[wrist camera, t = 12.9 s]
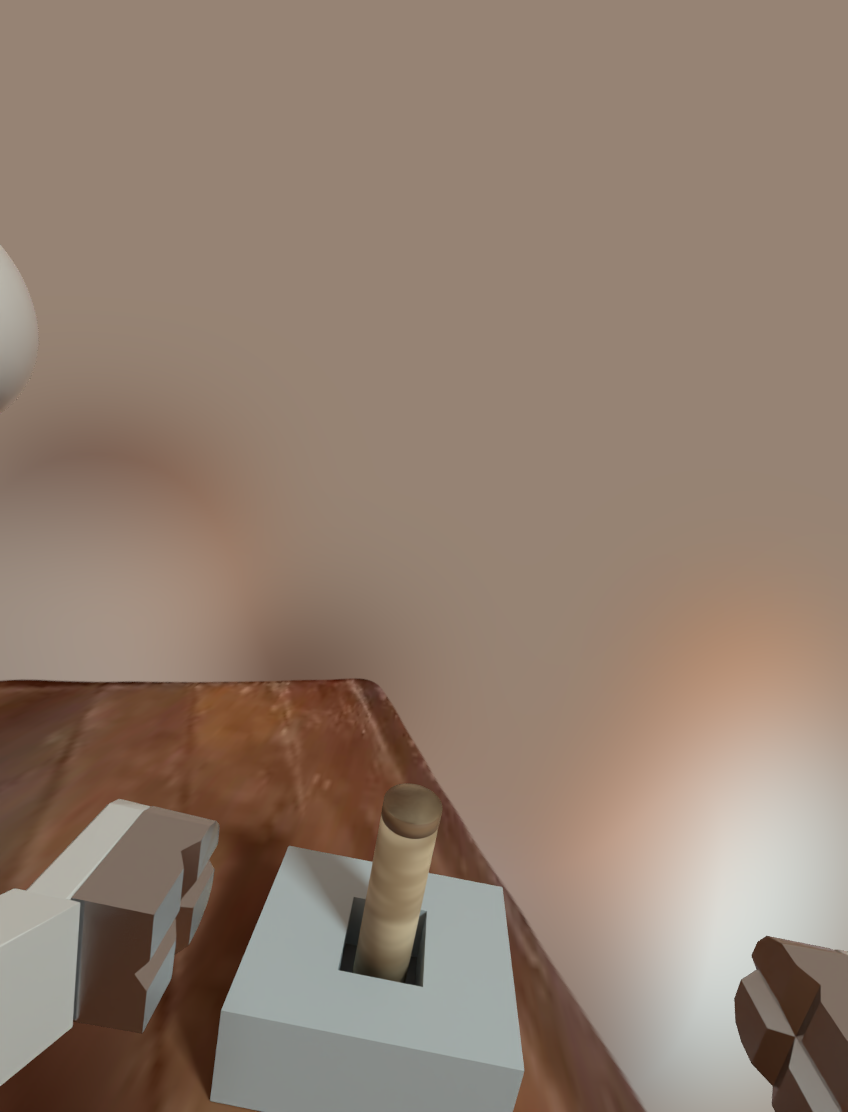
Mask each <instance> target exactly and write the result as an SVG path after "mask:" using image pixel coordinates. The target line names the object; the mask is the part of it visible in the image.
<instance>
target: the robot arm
mask: <svg viewBox="0 0 848 1112" xmlns="http://www.w3.org/2000/svg"><path fill="white" fill-rule="evenodd" d="M38 344H39V334H38V323H37V317H36V313H35V309H34V305H33V302H32V299H31V296H30V294H29V291H28V289H27V286H26V284H25V282H24V280H23V278H22V276H21V274H20V272H19V271H18V269H17V267H16V266H15V264H14V263H13V261H12V259H11V258H10V256H9V255H8V254H7V253H6V251H5V250H4V249H3V247H2V246H1V245H0V414H1V413H2V412H3V411H5V410H6V409H7V408H8V407H9V406H10V405H11V404H12V403H13V402H14V401H15V400H16V399H17V398H18V397H19V395H20V394H21V393H22V391H23V390H24V389H25V387H26V385H27V383H28V381H29V379H30V378H31V375H32V372H33V370H34V367H35V364H36V359H37V353H38ZM218 836H219V824H218V823H217V821H214V820H209V819H205V818H201V817H197V816H193V815H188V814H184V813H180V812H176V811H171V810H167V809H163V808H159V807H155V806H152V807H150V806H146V805H142V804H138V803H134V802H130V801H126V800H122V799H118V800H116V801H114V802H112V803H110V804H108V805H107V806H106V807H105V808H104V809H103V810H102V811H101V812H100V813H99V814H98V815H97V817H96V818H95V819H94V820H93V821H92V822H91V823H90V824H89V825H88V826H87V827H86V828H85V829H84V830H83V831H82V832H81V833H80V834H79V835H78V836H77V837H76V839H75V840H74V841H73V842H72V843H71V844H70V845H69V846H68V847H67V848H66V849H65V850H64V851H63V852H62V853H61V854H60V855H59V856H58V857H57V858H56V859H55V860H54V862H53V863H52V864H51V865H50V866H49V867H48V868H47V869H46V870H45V871H44V872H43V873H42V874H41V875H40V876H39V877H38V878H37V879H36V880H35V881H34V882H33V884H32V885H31V886H30V887H29V888H28V889H27V890H21V889H15V888H14V889H12V890H10V891H8V892H6V893H3V894H1V895H0V1086H1V1085H2V1084H3V1083H5V1082H6V1081H7V1080H8V1079H10V1078H11V1077H12V1076H13V1075H14V1074H16V1073H17V1072H18V1071H19V1070H21V1069H22V1068H23V1067H24V1066H25V1065H27V1064H28V1063H29V1062H30V1061H32V1060H33V1059H34V1058H35V1057H36V1056H38V1055H39V1054H40V1053H41V1052H43V1051H44V1050H45V1049H46V1048H47V1047H49V1046H50V1045H51V1044H52V1043H54V1042H55V1041H56V1040H57V1039H58V1038H60V1037H61V1036H62V1035H63V1034H65V1033H66V1032H67V1031H68V1030H69V1029H71V1028H72V1026H73V1022H78V1023H84V1024H90V1025H95V1026H101V1027H107V1028H113V1029H118V1030H124V1031H130V1032H136V1033H141V1034H142V1033H143V1031H144V1029H145V1027H146V1026H147V1024H148V1022H149V1020H150V1018H151V1016H152V1014H153V1012H154V1010H155V1008H156V1007H157V1005H158V1003H159V1001H160V999H161V997H162V995H163V993H164V991H165V989H166V988H167V986H168V984H169V982H170V980H171V978H172V970H173V962H174V955H175V954H177V953H178V952H180V951H181V950H182V949H184V948H185V947H187V946H188V945H189V944H190V942H191V940H192V938H193V936H194V934H195V932H196V930H197V928H198V926H199V923H200V921H201V918H202V915H203V913H204V910H205V908H206V905H207V902H208V899H209V895H210V891H211V887H212V883H213V876H214V868H213V866H212V864H211V863H210V861H209V858H210V857H211V855H212V853H213V851H214V850H215V848H216V846H217V844H218ZM752 958H753V961H754V963H755V966H756V969H757V970H755V971H754V972H752V973H751V974H749V975H748V976H746V977H745V978H743V979H742V980H741V982H740V985H739V987H738V990H737V993H736V996H735V998H734V999H735V1019H736V1025H737V1028H738V1032H739V1035H740V1039H741V1042H742V1044H743V1046H744V1048H745V1050H746V1053H747V1055H748V1057H749V1059H750V1061H751V1063H752V1064H753V1066H754V1067H755V1068H757V1070H758V1071H759V1072H760V1073H761V1074H762V1075H763V1076H764V1077H765V1078H766V1079H767V1080H768V1081H769V1083H770V1084H771V1085H772V1086H773V1093H772V1106H773V1108H774V1110H775V1112H848V951H842V950H833V949H830V948H825V947H820V946H815V945H810V944H805V943H800V942H795V941H790V940H785V939H780V938H775V937H770V936H766V937H764V938H763V939H761V940H760V941H758V942H757V944H756V947H755V949H754V951H753V953H752Z"/></svg>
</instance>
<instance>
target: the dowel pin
mask: <svg viewBox="0 0 848 1112" xmlns="http://www.w3.org/2000/svg"><path fill="white" fill-rule="evenodd" d="M441 814H442V804H441V801H440V799H439V798H438V797H437V796H436V795H435V794H434V793H433V792H432V791H430V790H429V789H427V788H425V787H422V786H420V785H415V784H399V785H396V786H394V787H392V788H390V789H389V790H388V791H387V792H386V794H385V797H384V802H383V807H382V814H381V820H380V825H379V831H378V836H377V842H376V847H375V852H374V858H373V863H372V869H371V874H370V879H369V885H368V890H367V896H366V901H365V907H364V912H363V917H362V923H361V928H360V934H359V939H358V944H357V950H356V955H355V961H354V966H353V971H352V973H355V974H360V975H365V976H370V977H375V978H380V979H385V980H390V981H395V982H400V983H405V981H406V977H407V972H408V967H409V962H410V958H411V953H412V948H413V944H414V939H415V934H416V929H417V925H418V920H419V915H420V911H421V906H422V901H423V896H424V892H425V887H426V882H427V878H428V873H429V868H430V863H431V859H432V854H433V849H434V845H435V840H436V835H437V831H438V827H439V823H440V818H441Z"/></svg>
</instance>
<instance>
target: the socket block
mask: <svg viewBox="0 0 848 1112" xmlns="http://www.w3.org/2000/svg"><path fill="white" fill-rule="evenodd" d="M372 863H373V862H370V861H365V860H359V859H354V858H349V857H344V856H339V855H334V854H329V853H323V852H318V851H313V850H308V849H303V848H298V847H293V846H289V847H288V849H287V852H286V854H285V856H284V859H283V861H282V864H281V866H280V869H279V871H278V873H277V876H276V878H275V881H274V883H273V886H272V888H271V890H270V893H269V895H268V898H267V900H266V903H265V905H264V907H263V910H262V912H261V915H260V917H259V920H258V922H257V924H256V927H255V929H254V932H253V934H252V937H251V939H250V941H249V944H248V946H247V949H246V951H245V954H244V956H243V958H242V961H241V963H240V966H239V968H238V971H237V973H236V975H235V978H234V980H233V983H232V985H231V988H230V990H229V992H228V995H227V997H226V1000H225V1002H224V1005H223V1007H222V1009H221V1016H220V1024H219V1032H218V1040H217V1048H216V1056H215V1064H214V1073H213V1081H212V1089H211V1097H210V1101H213V1102H218V1103H223V1104H228V1105H233V1106H238V1107H243V1108H248V1109H253V1110H258V1111H263V1112H513V1109H514V1105H515V1102H516V1098H517V1095H518V1091H519V1088H520V1084H521V1081H522V1077H523V1074H524V1064H523V1056H522V1048H521V1039H520V1031H519V1023H518V1014H517V1006H516V998H515V989H514V981H513V972H512V964H511V956H510V947H509V939H508V931H507V922H506V914H505V906H504V897H503V889H502V887H498V886H493V885H488V884H483V883H478V882H472V881H467V880H462V879H457V878H452V877H447V876H442V875H436V874H431V873H428V878H427V882H426V887H425V892H424V896H423V901H422V906H421V911H420V915H419V920H418V925H417V929H416V934H415V939H414V944H413V948H412V953H411V958H410V962H409V967H408V972H407V977H406V981H405V983H400V982H395V981H390V980H385V979H380V978H375V977H370V976H365V975H360V974H355V973H352V971H353V966H354V961H355V955H356V950H357V944H358V939H359V934H360V928H361V923H362V917H363V912H364V907H365V901H366V896H367V890H368V885H369V879H370V874H371V869H372Z"/></svg>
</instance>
